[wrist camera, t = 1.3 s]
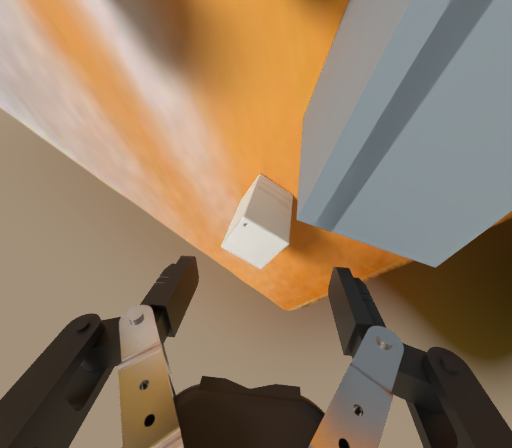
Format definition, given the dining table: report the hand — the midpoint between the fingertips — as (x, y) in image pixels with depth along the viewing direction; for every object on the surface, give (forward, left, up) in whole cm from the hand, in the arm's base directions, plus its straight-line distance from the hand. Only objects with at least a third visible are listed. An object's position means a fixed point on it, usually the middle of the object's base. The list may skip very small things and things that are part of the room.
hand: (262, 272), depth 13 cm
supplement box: (+11, 0, -26) cm, 28 cm away
